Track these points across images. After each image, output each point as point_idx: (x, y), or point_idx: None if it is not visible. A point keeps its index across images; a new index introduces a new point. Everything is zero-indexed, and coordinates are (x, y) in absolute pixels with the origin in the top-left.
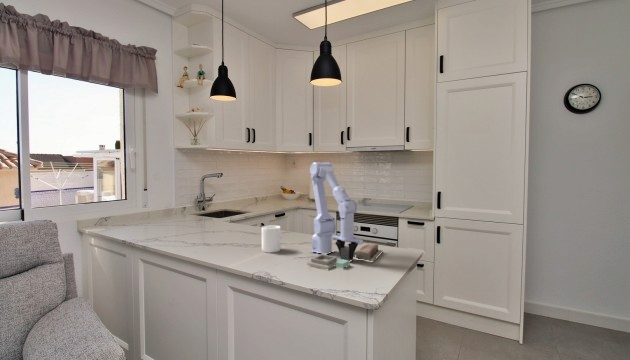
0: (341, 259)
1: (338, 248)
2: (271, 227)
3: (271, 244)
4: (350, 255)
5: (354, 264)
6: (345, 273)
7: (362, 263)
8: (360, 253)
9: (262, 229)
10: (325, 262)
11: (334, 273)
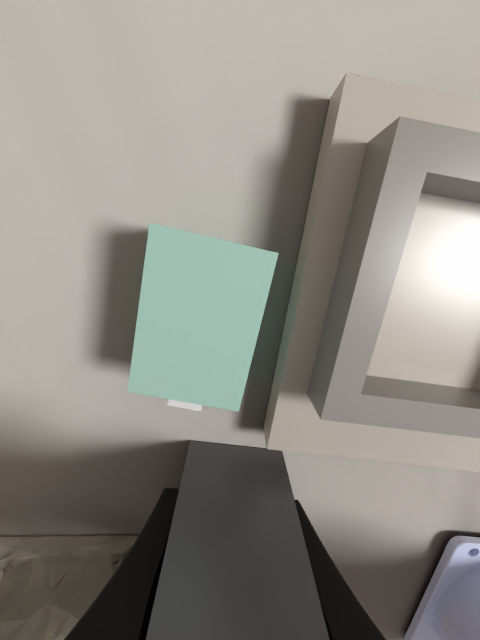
0: (241, 395)
1: (374, 635)
2: None
3: None
4: (152, 528)
5: (119, 426)
6: (73, 83)
7: (63, 482)
8: None
9: None
10: (426, 130)
11: (201, 6)
